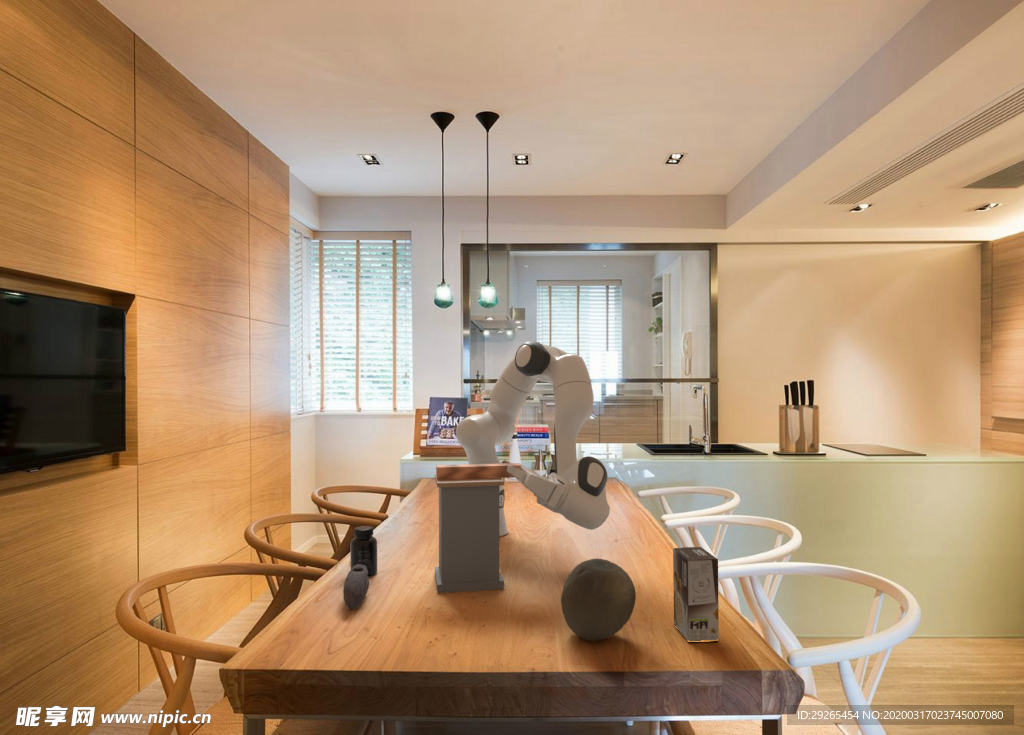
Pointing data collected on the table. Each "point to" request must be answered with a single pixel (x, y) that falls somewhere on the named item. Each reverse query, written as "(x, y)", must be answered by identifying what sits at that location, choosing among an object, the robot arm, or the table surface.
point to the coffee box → (696, 593)
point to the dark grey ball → (597, 599)
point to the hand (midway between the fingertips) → (504, 464)
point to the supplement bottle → (364, 549)
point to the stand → (468, 535)
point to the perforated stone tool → (356, 586)
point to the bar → (474, 471)
